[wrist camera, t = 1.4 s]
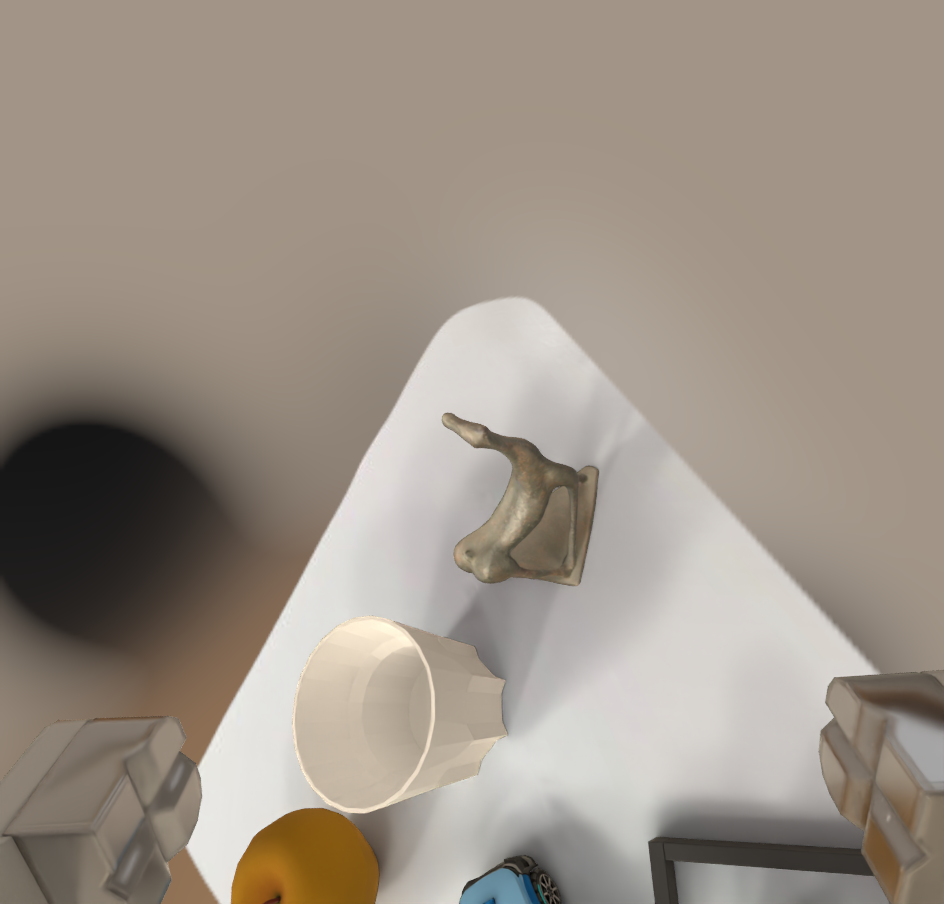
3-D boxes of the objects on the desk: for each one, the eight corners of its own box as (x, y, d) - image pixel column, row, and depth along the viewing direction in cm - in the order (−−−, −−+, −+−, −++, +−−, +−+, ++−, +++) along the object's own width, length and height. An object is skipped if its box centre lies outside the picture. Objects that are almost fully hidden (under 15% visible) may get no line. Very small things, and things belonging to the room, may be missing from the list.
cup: (393, 790, 44) (285, 808, 36) (396, 638, 48) (299, 624, 40) (525, 795, 39) (435, 817, 31) (517, 626, 43) (434, 608, 35)
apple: (291, 910, 45) (178, 949, 38) (331, 776, 47) (231, 789, 40) (386, 986, 40) (277, 1047, 33) (427, 832, 42) (332, 858, 34)
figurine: (512, 632, 43) (369, 603, 31) (472, 554, 47) (329, 501, 35) (646, 535, 40) (545, 463, 28) (591, 461, 44) (482, 369, 32)
